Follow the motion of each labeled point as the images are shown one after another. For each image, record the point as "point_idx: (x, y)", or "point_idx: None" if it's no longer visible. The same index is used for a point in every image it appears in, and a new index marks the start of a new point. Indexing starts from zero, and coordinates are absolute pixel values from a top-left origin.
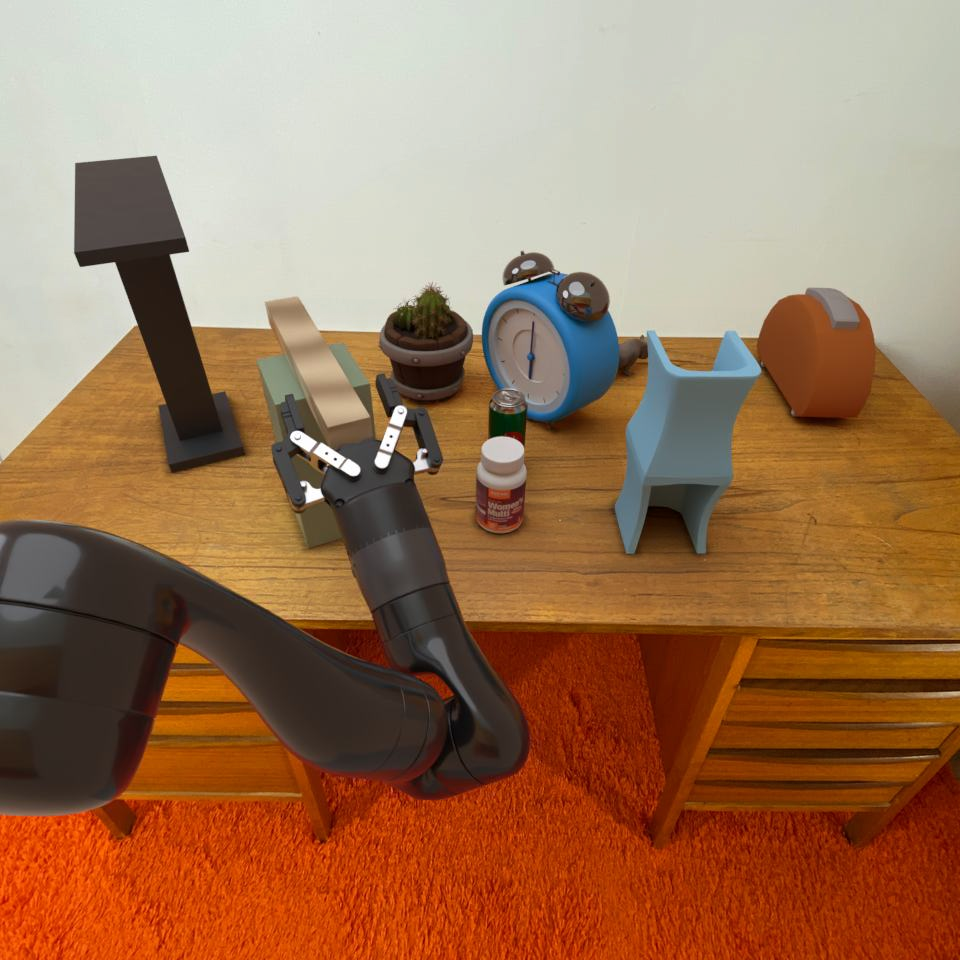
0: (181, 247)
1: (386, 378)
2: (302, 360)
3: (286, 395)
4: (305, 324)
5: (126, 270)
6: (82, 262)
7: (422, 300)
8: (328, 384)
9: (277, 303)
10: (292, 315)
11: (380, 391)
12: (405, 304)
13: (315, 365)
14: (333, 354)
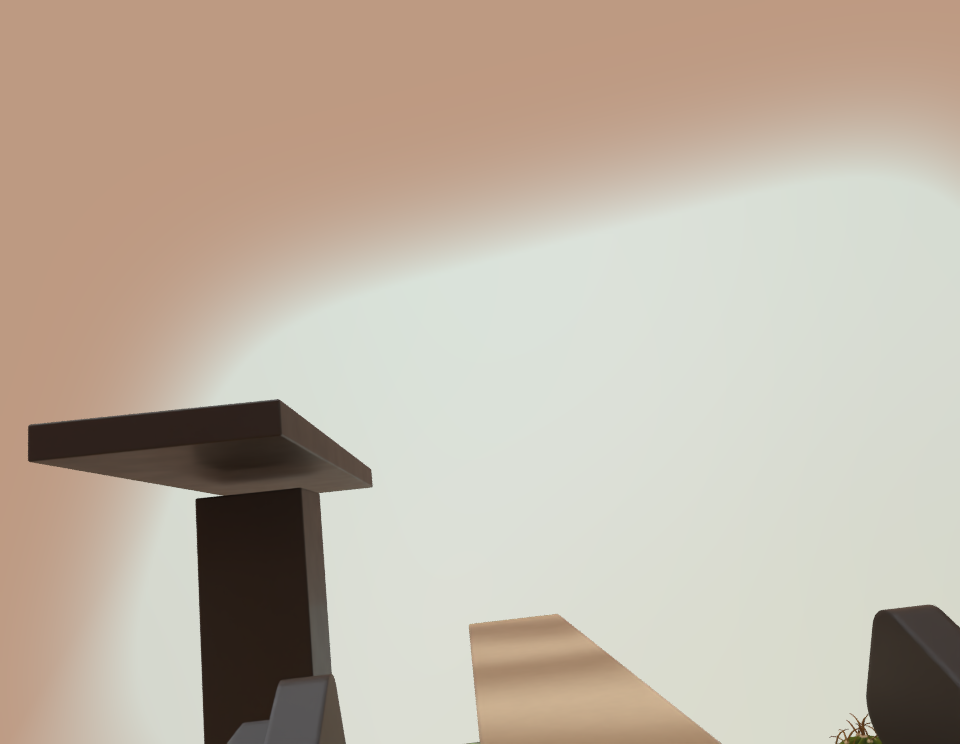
0: (265, 423)
1: (954, 623)
2: (506, 686)
3: (290, 679)
4: (557, 638)
5: (214, 587)
6: (37, 450)
7: None
8: (589, 736)
9: (499, 623)
10: (527, 631)
11: (923, 730)
12: (856, 732)
13: (551, 694)
14: None
